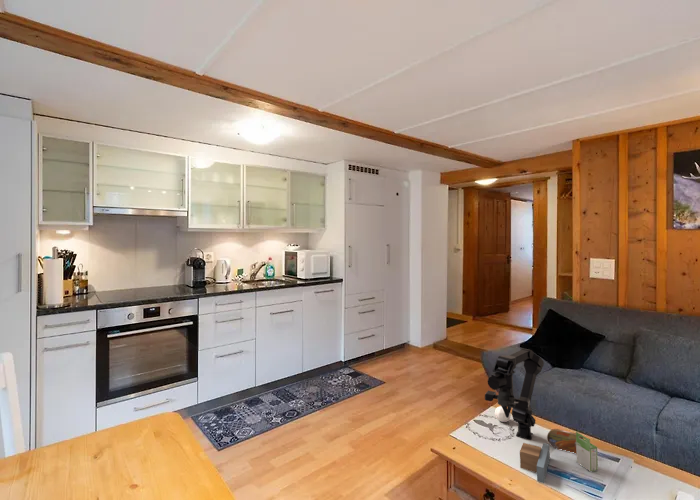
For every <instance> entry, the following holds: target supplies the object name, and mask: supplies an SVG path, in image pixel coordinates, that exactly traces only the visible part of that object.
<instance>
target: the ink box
mask: <svg viewBox="0 0 700 500" xmlns="http://www.w3.org/2000/svg"><path fill="white" fill-rule="evenodd" d="M575 433H576V454H575V455H576V463H577V462H578V463H579V464H578V463H577V464H578V465H580V464H581V465H582V466H583V467H582V466H581V465H580V466H581V467H582V468H584V467H585V468H586V469H585V468H584V469H585V470H587V469H588V470H589V471H588V470H587V471H588V472H590V471H592V472H596V471H595V470H598V463H599V462H598V457H599V456H598V455H599V454H598V446H596V445H595V444H593V443H591V439H590V438H589V437H586V436H585V435H583V434H582V433H580V432H578V431H576V432H575ZM579 437H583V439H580V438H579Z"/></svg>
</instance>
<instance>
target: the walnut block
mask: <svg viewBox="0 0 700 500" xmlns="http://www.w3.org/2000/svg"><path fill="white" fill-rule="evenodd" d="M541 449H542V446H537V445H533V444H530V443H525V442H523V443H522V444H521V448H520V451H519V465H520V466H519V467H520V469H522V470H526V471H530V472H532V473H535V474H537V463H538V459H539V456H540V452H541Z"/></svg>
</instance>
